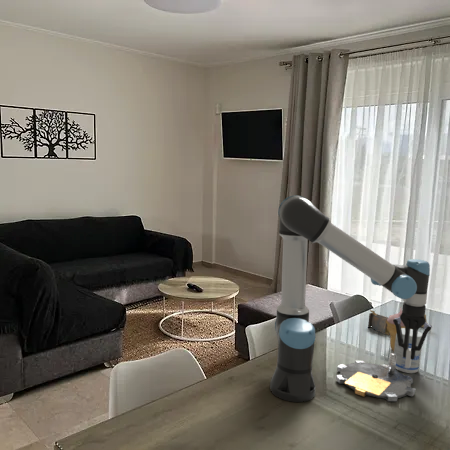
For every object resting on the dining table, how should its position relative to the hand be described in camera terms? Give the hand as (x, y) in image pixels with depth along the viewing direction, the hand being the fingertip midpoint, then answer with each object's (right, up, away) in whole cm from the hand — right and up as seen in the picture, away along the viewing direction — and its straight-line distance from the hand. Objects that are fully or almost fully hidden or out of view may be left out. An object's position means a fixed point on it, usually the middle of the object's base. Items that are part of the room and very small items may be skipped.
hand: (407, 366), depth 164 cm
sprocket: (-13, -5, -1) cm, 14 cm away
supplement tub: (+4, -5, +12) cm, 14 cm away
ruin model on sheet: (+8, 0, +53) cm, 53 cm away
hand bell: (+33, +1, +66) cm, 74 cm away
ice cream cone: (+7, -3, +30) cm, 31 cm away
